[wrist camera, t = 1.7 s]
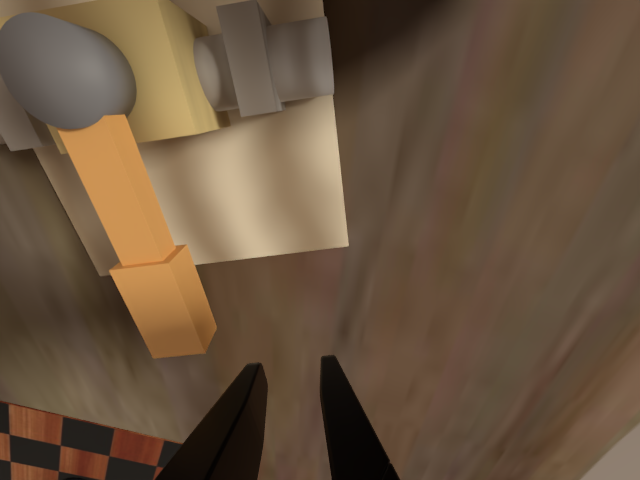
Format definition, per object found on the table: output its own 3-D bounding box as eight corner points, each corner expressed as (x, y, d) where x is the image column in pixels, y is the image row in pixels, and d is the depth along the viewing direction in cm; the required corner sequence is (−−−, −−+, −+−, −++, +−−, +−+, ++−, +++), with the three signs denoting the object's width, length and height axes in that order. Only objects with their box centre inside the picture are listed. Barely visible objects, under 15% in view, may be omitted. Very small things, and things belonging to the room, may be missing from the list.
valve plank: (316, -51, 15) (313, -161, 9) (347, 238, 21) (357, 292, 15) (-19, 9, 16) (-234, -51, 10) (110, 267, 22) (32, 329, 16)
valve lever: (114, 19, 10) (75, 3, 8) (222, 326, 16) (211, 352, 14) (27, 35, 10) (-27, 22, 9) (165, 333, 16) (147, 359, 14)
